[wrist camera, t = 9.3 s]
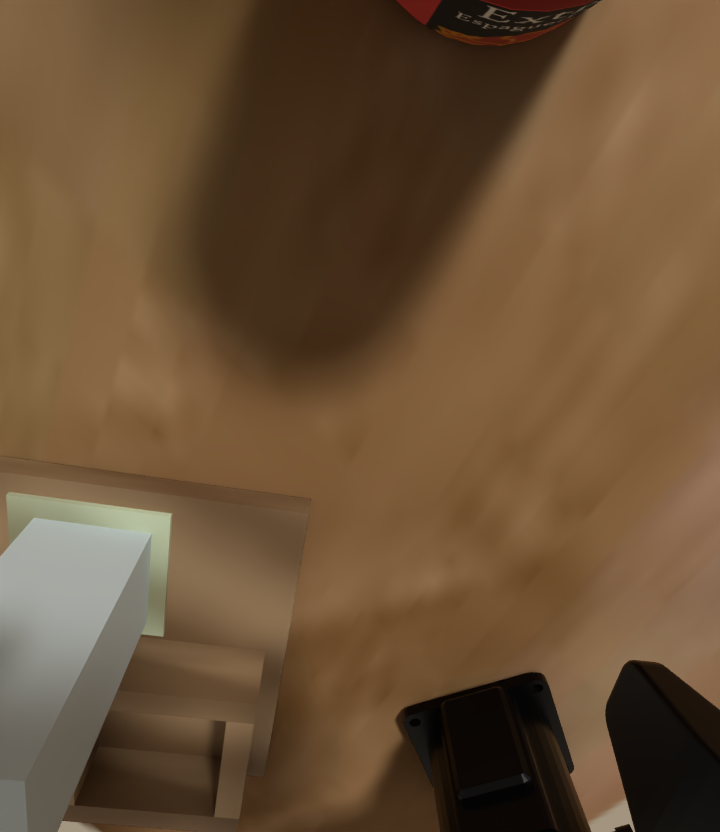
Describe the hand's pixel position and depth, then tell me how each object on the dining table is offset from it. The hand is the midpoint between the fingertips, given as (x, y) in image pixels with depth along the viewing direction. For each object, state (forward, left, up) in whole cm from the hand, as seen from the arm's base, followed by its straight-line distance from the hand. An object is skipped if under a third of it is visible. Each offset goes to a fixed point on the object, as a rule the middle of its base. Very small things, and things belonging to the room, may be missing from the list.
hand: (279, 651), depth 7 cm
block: (-5, +10, -12) cm, 17 cm away
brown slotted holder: (-9, +11, -13) cm, 19 cm away
